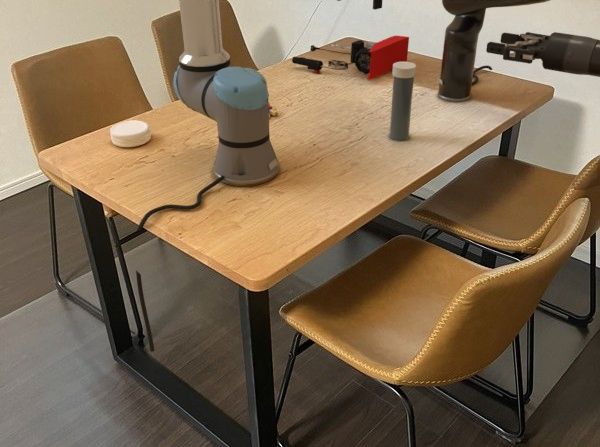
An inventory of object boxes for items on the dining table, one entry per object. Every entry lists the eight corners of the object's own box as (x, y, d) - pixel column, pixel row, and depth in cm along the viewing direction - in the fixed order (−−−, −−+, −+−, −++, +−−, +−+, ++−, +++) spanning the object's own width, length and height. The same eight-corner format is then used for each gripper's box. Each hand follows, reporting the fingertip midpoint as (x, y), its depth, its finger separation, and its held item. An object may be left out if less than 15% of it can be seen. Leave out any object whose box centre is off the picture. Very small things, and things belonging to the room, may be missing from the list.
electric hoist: (290, 37, 203) (370, 51, 188) (334, 23, 222) (410, 35, 207) (290, 67, 208) (368, 84, 193) (333, 51, 227) (407, 65, 212)
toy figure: (281, 107, 173) (253, 94, 180) (262, 114, 169) (235, 100, 176) (281, 115, 175) (253, 102, 182) (262, 122, 171) (235, 108, 178)
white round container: (123, 151, 155) (121, 138, 153) (105, 139, 162) (102, 126, 160) (158, 140, 161) (156, 127, 159) (139, 128, 167) (137, 116, 165)
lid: (400, 79, 149) (400, 70, 148) (388, 72, 153) (388, 63, 152) (419, 76, 151) (420, 66, 150) (407, 69, 155) (408, 60, 154)
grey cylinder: (395, 142, 158) (401, 71, 148) (385, 134, 162) (390, 65, 152) (412, 138, 160) (418, 68, 150) (401, 131, 164) (407, 62, 154)
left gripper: (410, -82, 149) (403, 9, 160) (338, -89, 165) (337, -6, 176) (388, -79, 145) (383, 15, 156) (317, -87, 161) (317, -2, 172)
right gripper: (557, 81, 124) (479, 67, 132) (576, 63, 134) (503, 51, 142) (564, 44, 120) (484, 32, 128) (584, 27, 130) (508, 17, 138)
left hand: (358, 4), depth 166 cm, fingers open, 13 cm apart
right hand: (494, 42), depth 135 cm, fingers open, 8 cm apart
